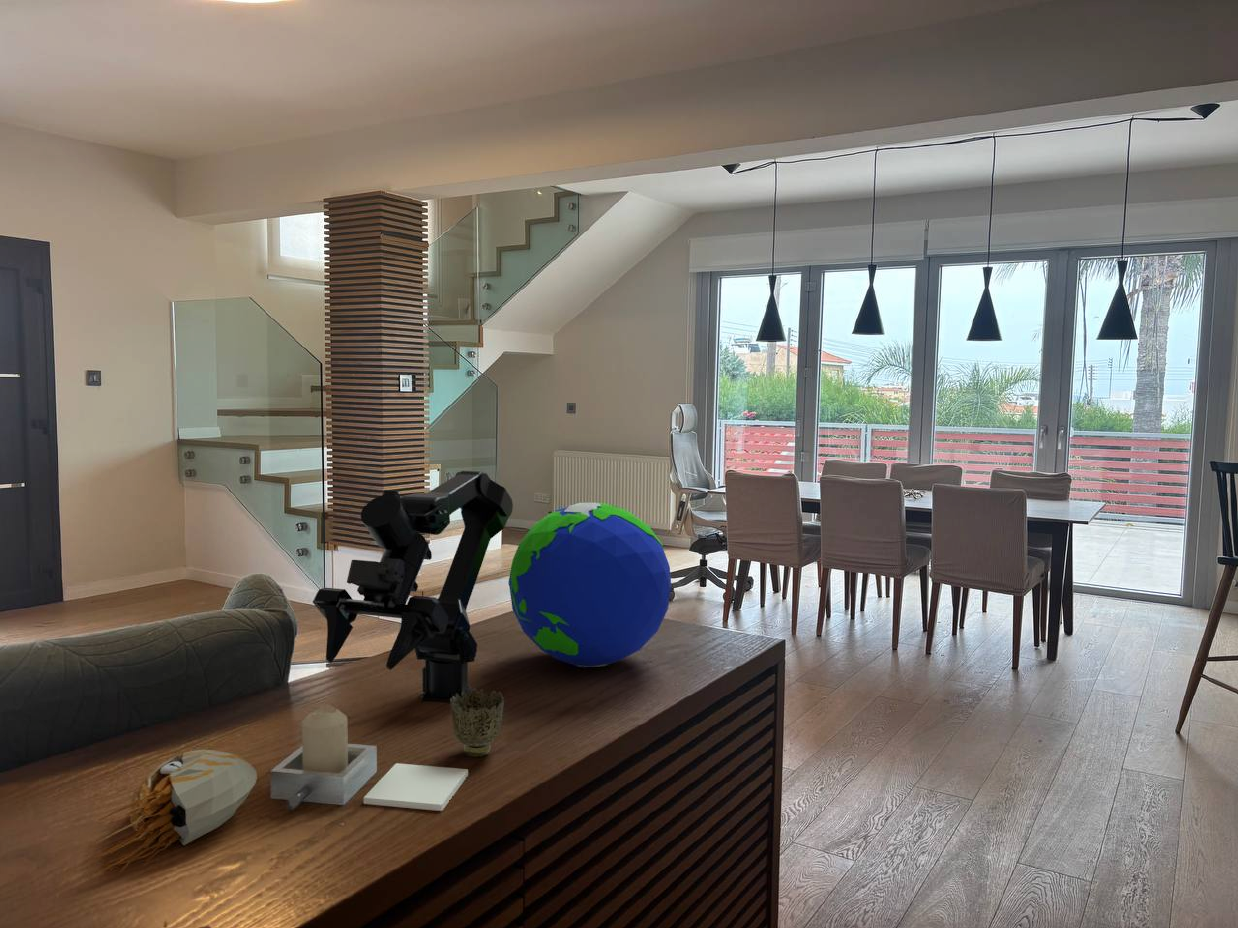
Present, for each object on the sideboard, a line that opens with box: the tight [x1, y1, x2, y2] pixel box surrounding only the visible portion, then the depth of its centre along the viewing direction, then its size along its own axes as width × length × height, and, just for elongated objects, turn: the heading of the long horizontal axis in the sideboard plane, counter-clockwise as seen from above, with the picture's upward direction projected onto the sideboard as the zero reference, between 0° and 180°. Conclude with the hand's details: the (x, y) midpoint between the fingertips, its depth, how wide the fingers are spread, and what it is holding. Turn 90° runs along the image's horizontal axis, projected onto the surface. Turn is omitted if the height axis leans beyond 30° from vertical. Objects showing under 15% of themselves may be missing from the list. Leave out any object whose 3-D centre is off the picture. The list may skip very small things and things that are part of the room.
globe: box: [508, 502, 672, 668], centre depth 164 cm, size 30×30×30 cm
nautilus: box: [87, 749, 258, 874], centre depth 102 cm, size 8×22×15 cm
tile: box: [363, 762, 469, 812], centre depth 114 cm, size 10×10×1 cm
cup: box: [449, 688, 505, 758], centre depth 125 cm, size 8×7×8 cm
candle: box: [301, 704, 349, 773], centre depth 114 cm, size 6×6×10 cm
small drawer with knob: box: [269, 743, 378, 811], centre depth 113 cm, size 10×14×4 cm
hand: (358, 664), depth 121 cm, fingers open, 9 cm apart
